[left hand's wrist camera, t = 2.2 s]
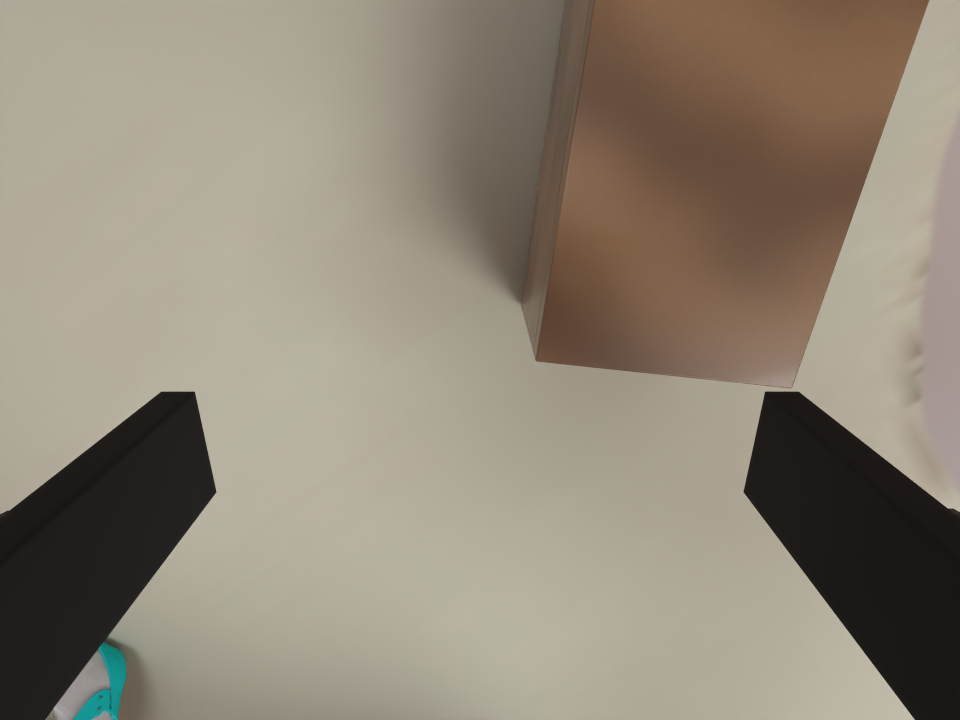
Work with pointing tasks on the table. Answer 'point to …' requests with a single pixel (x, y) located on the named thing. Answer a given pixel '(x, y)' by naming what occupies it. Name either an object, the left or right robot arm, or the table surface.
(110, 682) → the anatomical model
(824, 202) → the wooden box
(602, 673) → the table surface
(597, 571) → the table surface
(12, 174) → the table surface
